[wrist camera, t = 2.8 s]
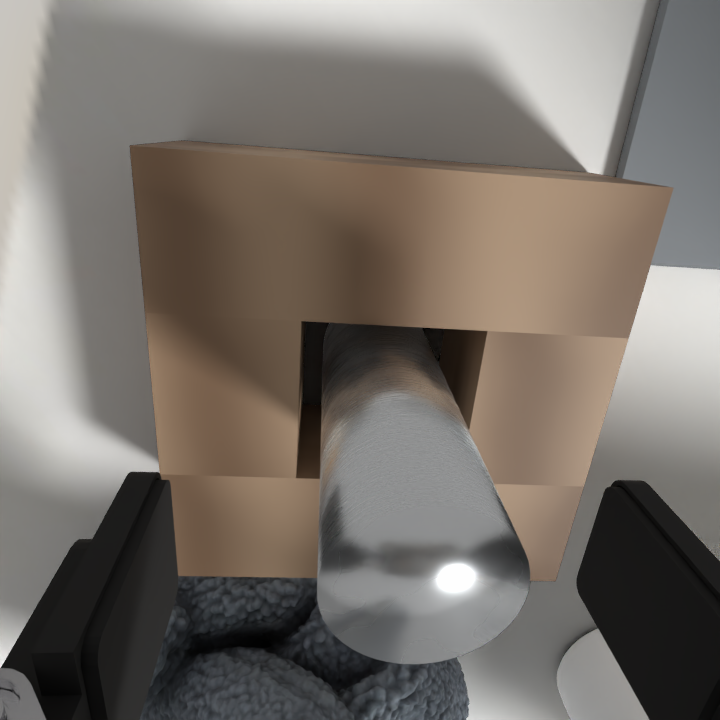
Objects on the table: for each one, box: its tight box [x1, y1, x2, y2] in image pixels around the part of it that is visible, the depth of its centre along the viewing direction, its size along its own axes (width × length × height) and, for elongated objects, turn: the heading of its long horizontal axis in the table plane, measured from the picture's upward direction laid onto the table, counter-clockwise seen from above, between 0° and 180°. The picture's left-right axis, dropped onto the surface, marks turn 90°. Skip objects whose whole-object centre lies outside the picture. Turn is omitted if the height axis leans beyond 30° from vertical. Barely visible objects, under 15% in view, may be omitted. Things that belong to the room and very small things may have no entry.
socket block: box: [130, 140, 674, 581], centre depth 19 cm, size 14×14×5 cm
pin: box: [317, 323, 530, 664], centre depth 15 cm, size 4×4×12 cm
